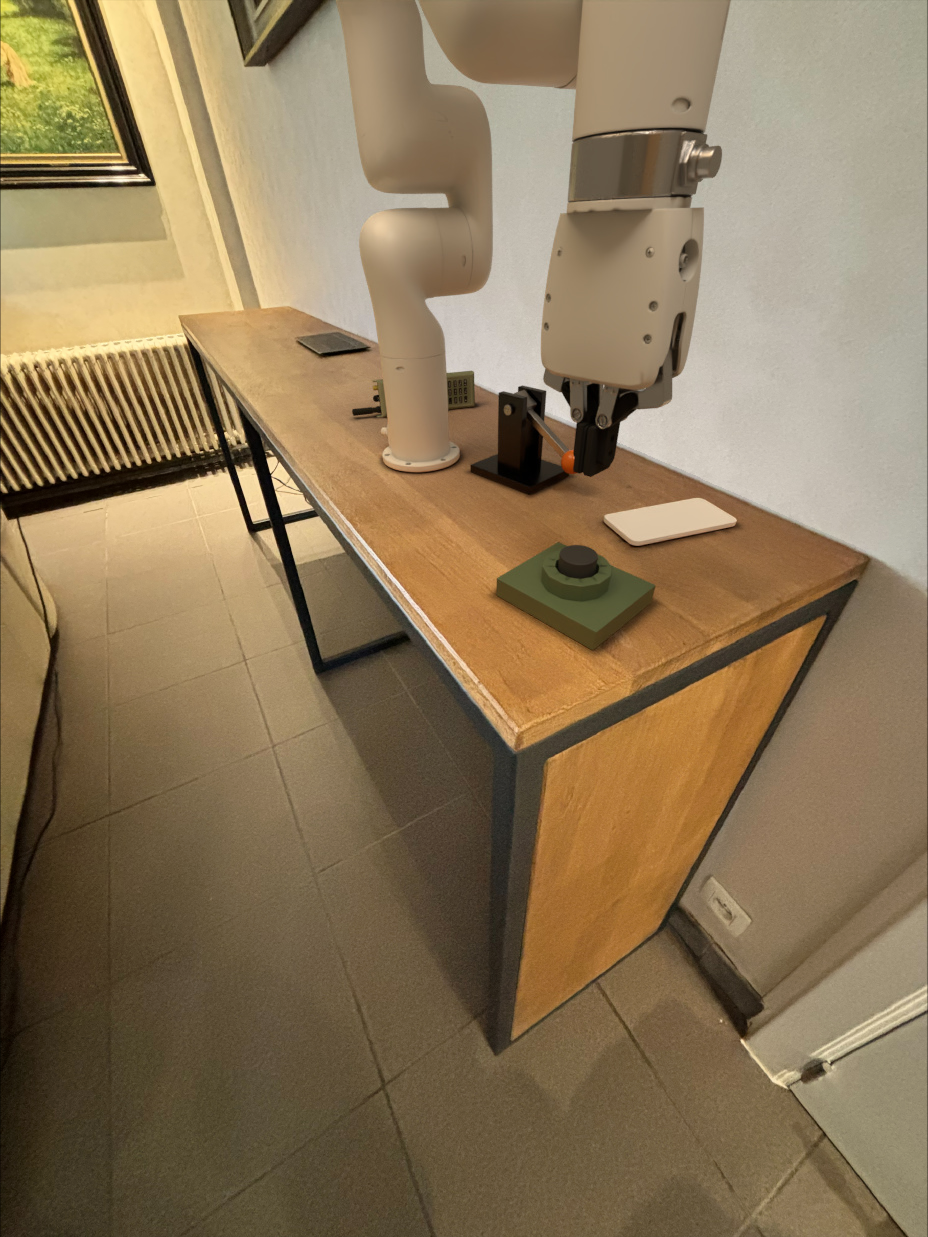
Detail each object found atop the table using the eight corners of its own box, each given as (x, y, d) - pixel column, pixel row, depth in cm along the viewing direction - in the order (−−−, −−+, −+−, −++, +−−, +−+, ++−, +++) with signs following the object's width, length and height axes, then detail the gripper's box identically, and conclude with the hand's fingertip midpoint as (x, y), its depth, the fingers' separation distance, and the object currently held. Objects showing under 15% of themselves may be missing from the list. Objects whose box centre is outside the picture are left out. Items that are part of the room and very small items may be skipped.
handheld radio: (476, 407, 102) (354, 421, 97) (471, 404, 105) (352, 417, 100) (475, 372, 98) (348, 384, 93) (470, 369, 101) (346, 381, 96)
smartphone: (740, 521, 61) (634, 542, 57) (738, 526, 61) (633, 548, 58) (700, 496, 66) (601, 514, 63) (698, 501, 67) (600, 520, 63)
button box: (496, 595, 52) (496, 562, 49) (556, 558, 57) (559, 527, 54) (592, 650, 45) (599, 616, 42) (651, 602, 50) (660, 569, 47)
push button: (550, 569, 49) (551, 554, 47) (572, 555, 50) (574, 540, 49) (580, 584, 46) (583, 569, 45) (602, 569, 48) (605, 554, 47)
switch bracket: (569, 476, 74) (578, 392, 67) (529, 495, 70) (534, 407, 62) (509, 455, 81) (512, 377, 74) (470, 472, 77) (468, 390, 69)
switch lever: (581, 474, 69) (593, 458, 67) (567, 481, 68) (579, 465, 65) (518, 404, 72) (528, 386, 69) (503, 409, 70) (512, 391, 67)
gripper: (783, 172, 28) (697, 481, 40) (569, 189, 37) (550, 438, 48) (724, 168, 24) (648, 512, 36) (499, 188, 33) (496, 460, 44)
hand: (591, 469), depth 42 cm, fingers closed
